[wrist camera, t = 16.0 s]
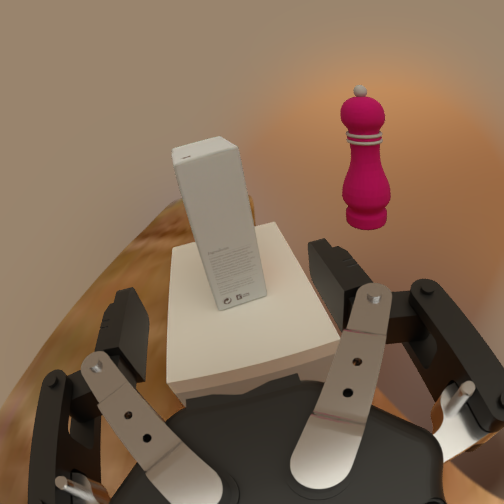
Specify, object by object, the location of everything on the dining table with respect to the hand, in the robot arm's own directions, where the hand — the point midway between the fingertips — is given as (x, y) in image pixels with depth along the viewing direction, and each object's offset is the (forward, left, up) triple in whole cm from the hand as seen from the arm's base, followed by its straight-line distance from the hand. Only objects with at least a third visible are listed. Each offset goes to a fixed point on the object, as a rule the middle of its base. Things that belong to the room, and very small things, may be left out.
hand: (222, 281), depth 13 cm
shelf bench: (0, +10, -14) cm, 17 cm away
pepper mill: (+21, +24, -14) cm, 35 cm away
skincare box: (0, +10, -8) cm, 13 cm away
